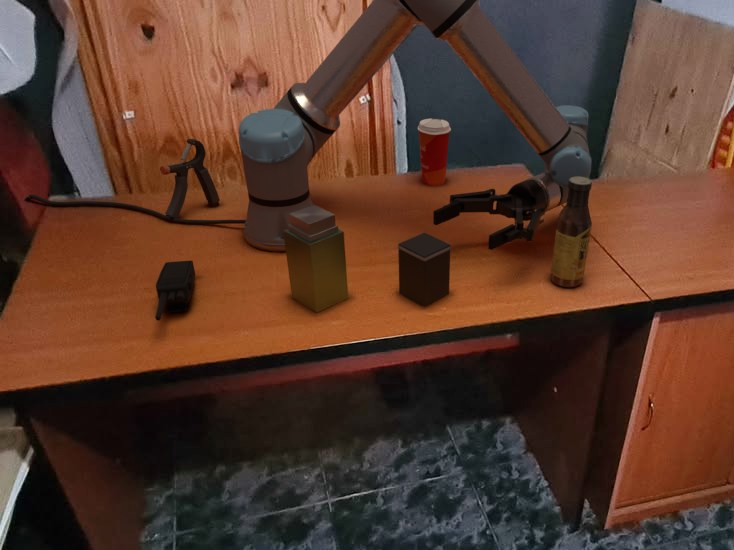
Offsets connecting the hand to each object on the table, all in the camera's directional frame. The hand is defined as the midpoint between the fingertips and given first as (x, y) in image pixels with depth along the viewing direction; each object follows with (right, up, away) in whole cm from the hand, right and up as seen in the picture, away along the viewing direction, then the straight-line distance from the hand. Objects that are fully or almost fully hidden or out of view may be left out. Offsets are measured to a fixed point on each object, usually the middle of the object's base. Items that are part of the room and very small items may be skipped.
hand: (461, 230), depth 125 cm
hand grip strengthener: (-57, +7, +21) cm, 62 cm away
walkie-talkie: (-48, -15, -8) cm, 51 cm away
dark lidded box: (-7, -12, 0) cm, 13 cm away
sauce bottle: (+20, -8, +7) cm, 23 cm away
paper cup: (-8, +20, +42) cm, 47 cm away
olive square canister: (-25, -13, -3) cm, 28 cm away
